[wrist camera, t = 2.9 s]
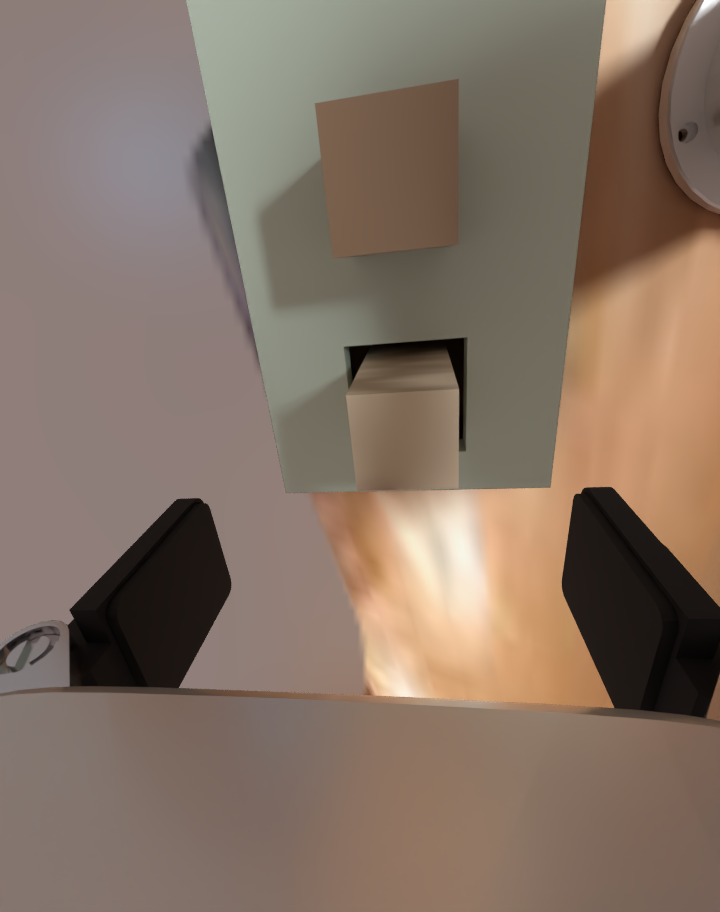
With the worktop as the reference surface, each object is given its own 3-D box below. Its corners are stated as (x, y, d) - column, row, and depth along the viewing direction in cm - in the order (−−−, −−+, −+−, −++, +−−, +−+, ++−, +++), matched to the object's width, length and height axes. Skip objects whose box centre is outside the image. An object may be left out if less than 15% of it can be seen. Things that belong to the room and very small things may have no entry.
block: (440, 326, 26) (459, 388, 14) (441, 387, 28) (458, 488, 16) (377, 331, 27) (345, 395, 15) (382, 390, 29) (357, 490, 17)
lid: (629, -369, 11) (820, -931, 6) (542, 473, 22) (581, 542, 17) (158, -222, 13) (-13, -536, 8) (293, 479, 25) (258, 543, 19)
